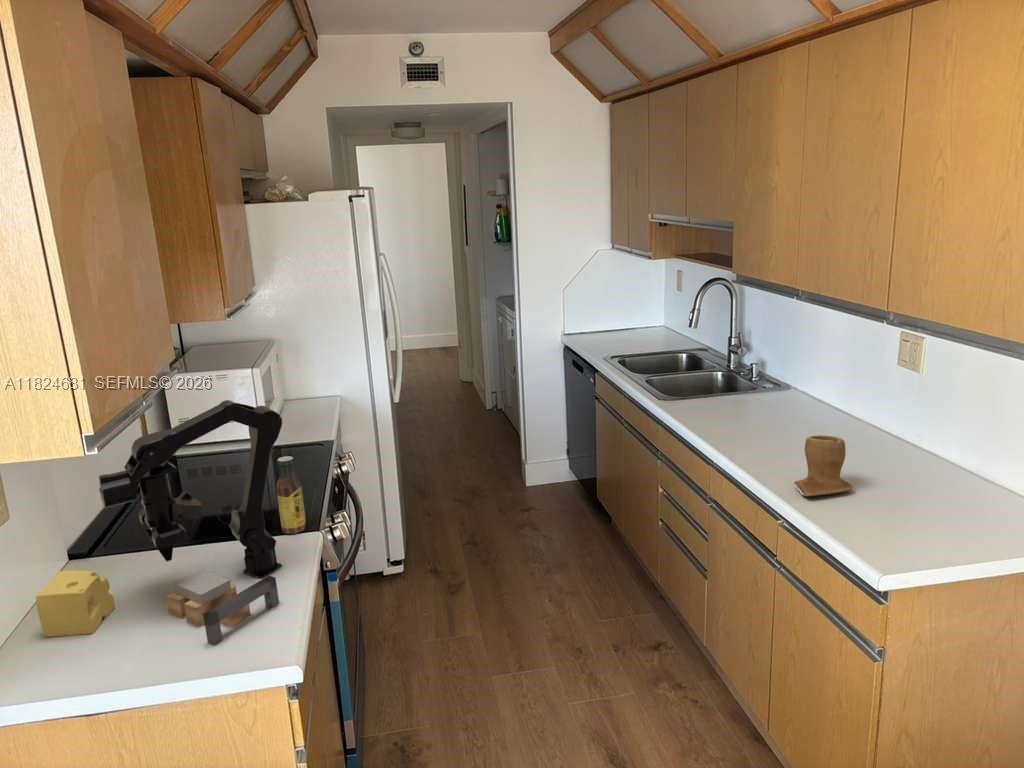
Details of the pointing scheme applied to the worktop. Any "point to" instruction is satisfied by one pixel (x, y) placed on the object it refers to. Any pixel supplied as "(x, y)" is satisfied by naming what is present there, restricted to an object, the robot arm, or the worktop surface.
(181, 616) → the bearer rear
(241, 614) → the block
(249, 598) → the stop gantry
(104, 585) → the cheese
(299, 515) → the sauce bottle
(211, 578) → the slab
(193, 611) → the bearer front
